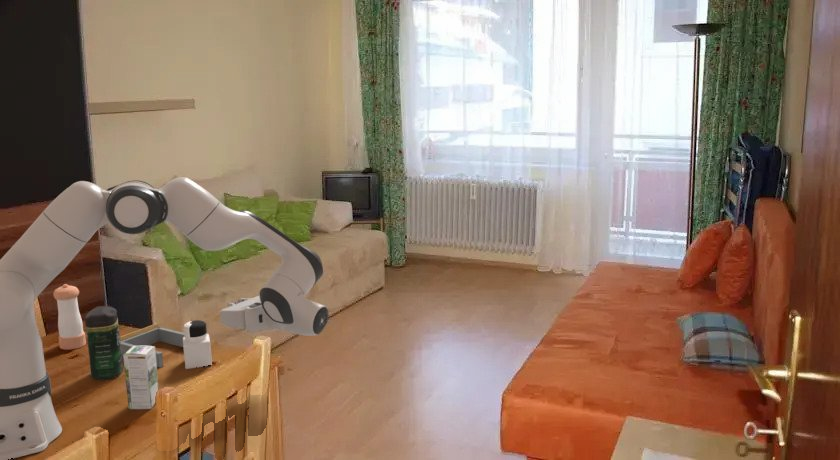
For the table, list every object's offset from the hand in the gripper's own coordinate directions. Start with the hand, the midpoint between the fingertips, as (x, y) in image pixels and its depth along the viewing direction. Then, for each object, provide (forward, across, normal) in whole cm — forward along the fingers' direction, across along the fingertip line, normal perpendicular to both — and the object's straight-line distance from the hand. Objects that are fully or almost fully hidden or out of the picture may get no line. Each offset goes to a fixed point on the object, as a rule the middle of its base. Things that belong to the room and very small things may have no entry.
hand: (234, 303), depth 196 cm
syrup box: (+7, +25, +20) cm, 33 cm away
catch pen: (+32, 0, +20) cm, 38 cm away
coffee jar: (+32, +17, +20) cm, 42 cm away
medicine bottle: (+16, 0, +20) cm, 26 cm away
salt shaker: (+61, +9, +20) cm, 65 cm away
